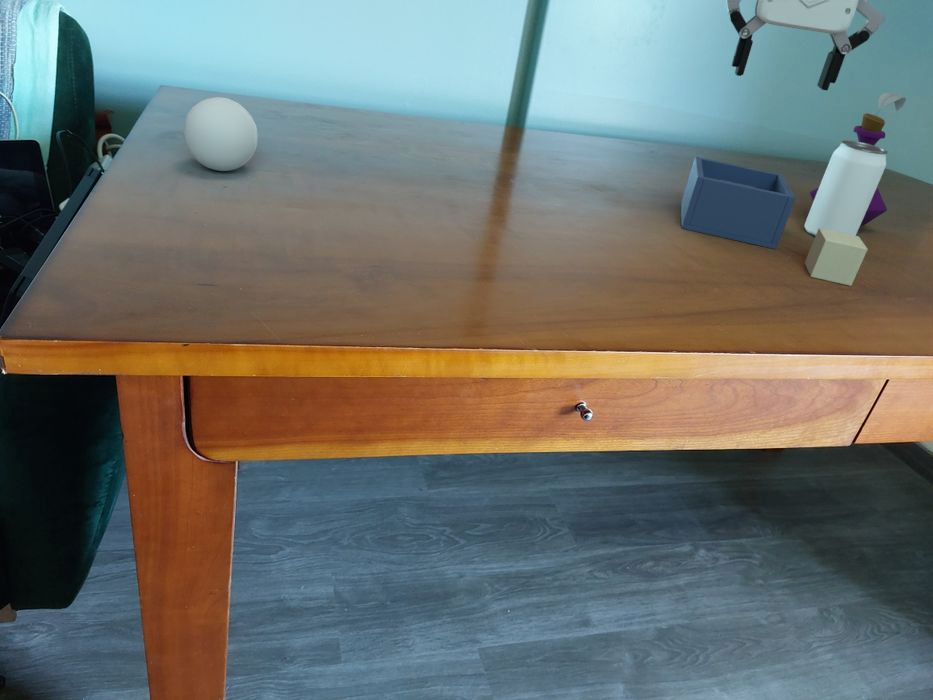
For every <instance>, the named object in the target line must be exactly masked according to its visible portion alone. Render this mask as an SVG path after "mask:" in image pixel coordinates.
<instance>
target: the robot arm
mask: <svg viewBox="0 0 933 700" xmlns="http://www.w3.org/2000/svg"><path fill="white" fill-rule="evenodd" d="M741 2H742V0H726V8H727V12H728V18H729V21H730V22H731V24H732V25H733V28H734V30H735V31H736V32H737V34H738V36H739V37H738V41H737V44H736V48H735V51H734V54H733V58H732V62H731V67H735V70H734V74H735V76H738V77H741V76H744V74H745V70H746V66H747V63H748V60H749V57H750V53H751V50H752V47H753V43H754V41H753V39H752V38H753V35H754V33H756V32H757V31H758V30H760V29H761V28H762V27H763V26H764V25H766V24H769V25H773V26H777V27H784V28H791V29H795V30H796V29H797V30H804V31H809V32H815V33H816V32H817V33H822V34H823V33H824V34H828V35H829V37H830V40H831V43H832V45H833V47H832V50H830V51H829V52H828V53H827V56H826V58H825V62H824V65H823V67H822V70H821V73H820V76H819V79H818V82H817V87H818V88H819V89H821V90H822V91H828V90H829V89H830V85H831V84H835V83H836V82H837V79H838V77H839V74H840V71H841V68H842V65H843V63H844V60H845V57H846V55H849V54H850V52H851V51H854V49H856V48H858V47H860V46H861V45H862V44H864V43H865V42H867V41H868V40H869V39H870V37H871V36H872V35H874V33H875V32H877V30H878V29H879V28H880V27H881V26H882V25H883V24H884V23H885V21H886V15H885V14H884V13H883V12H881V11H880V10H878V8H877V7H875V6H874V5H873V4H872V3H870V2H869V1H868V0H756V4H755V7H754V15H753V16H752V17H751V18H750V19H749V20H748V21H746V20H745V18H744V16H743V15H742V12H741V6H740V3H741ZM856 12H858V14H860V15H861V16H862V17H863V18H864V19H865V22H864V24H863V25H862V27H861V28H860V29H859V30H857V31H856V32H854V33H853V34H851V35H849V36H848V35H847V32H846V31H848V29H849V28H850V27H851V24H852V22H853V21H854V20H853V19H854V17H855V14H856Z"/></svg>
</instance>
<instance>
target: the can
mask: <svg viewBox="0 0 933 700" xmlns="http://www.w3.org/2000/svg"><path fill="white" fill-rule="evenodd" d="M888 153H889V152H888V150H886V149H884V148H882V147H879V146H876V145H875V146H873V145H869V144H865V143H861V142H859V141H854V140H846V139H844V140H841V141H840V145H839V146H838V147H837V148H836V149H835V150H833V152H832V154H831V156H830V159H829V161H828V164H827V166H826V169H825V171H824V174H823V176H822V179H821V182H820V183H819V187H818V188H819V189H818V191H817V194H816V196H815V199H814V201H813V200H812V204H811V207H810V209H809V212H808V215H807V216H806V219H805V223H804V230H805V231H806V233H808V234H810V235H811V236H813V237H815V236H816V234H817V232H818V229H819V228H822V229H826V230H831V231H836V232H840V233H845V234H849V235H854V236H857V234H858V231H859V229H860V228H861V227H860V225H861V222H862V220H863V218H864V216H865V213H866V211H867V209H868V206H869V204H870V202H871V200H872V197H873V195H874V193H875V190H876V188H877V187H878V185H879V184H880V181H881V179H882V176H883V174H884V172H885V169H886V166H887V155H888ZM859 227H860V228H859Z"/></svg>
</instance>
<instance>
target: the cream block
mask: <svg viewBox="0 0 933 700" xmlns="http://www.w3.org/2000/svg"><path fill="white" fill-rule="evenodd" d="M868 249H869V248H867V246H866V245H865V243H864V241H863V240H862V238H861V237H860V236H859V235H856V236H854V235H849V234H845V233H840V232H836V231H831V230H826V229H822V228H819V229H818V232H817V234H816V236H814V239H813V241H812V244H811V246H810V249H809V251H808V254H807V256H806V258H805V261H804V265H805V267H806V270H807V272H808V274H809V277H811V278H814V279H818V280H823V281H827V282H832V283H836V284H841V285H845V286H849V287H851V286H853V284H854V281H855V279H856V276H857V274H858V273H859V270H860V268H861V265H862V263H863V261H864V259H865V256H866V255H867V252H868Z"/></svg>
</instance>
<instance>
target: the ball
mask: <svg viewBox="0 0 933 700" xmlns="http://www.w3.org/2000/svg"><path fill="white" fill-rule="evenodd" d="M182 134H183V140H184V144H185V146H186V147H187V150H188V152H189V153H190V154H191V156H192V157H193V158H194V159H195V161H197V162H199V164H201V165H203V166H204V167H206V168H208V169H211V170H214V171H218V172H228V171H233V170H238V169H239V168H241V167H242V166H245V165H247V163H248V162H249V161H250V160H251V158H253V156H254V154H255V153H256V150H257V148H258V147H257V146H258V141H259V136H258V127H257V125H256V123H255V119H254V118H253V117H252V115H251V114H250V112H249V111H248V110H247V109H246V108H245V107H243V106H242V105H241V104H240V103H239V102H237V101H235V100H232V99H230V98H227V97H221V96H213V97H209V98H206V99H202V100H200V101H199V102H197V103H196V104H194V105H193V106H192V108H190V110H189V111H188V113H187V115H186V116H185V120H184V122H183V131H182Z"/></svg>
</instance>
